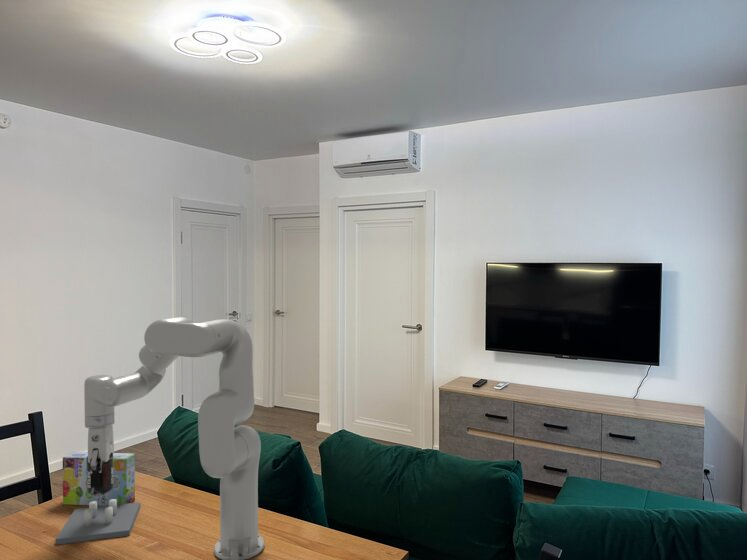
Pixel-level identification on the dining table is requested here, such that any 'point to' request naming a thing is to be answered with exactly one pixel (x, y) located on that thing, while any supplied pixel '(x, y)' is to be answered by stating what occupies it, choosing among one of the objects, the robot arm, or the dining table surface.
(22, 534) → the dining table surface
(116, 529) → the peg stand
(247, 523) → the robot arm
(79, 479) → the snack box
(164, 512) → the dining table surface
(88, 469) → the beverage can
